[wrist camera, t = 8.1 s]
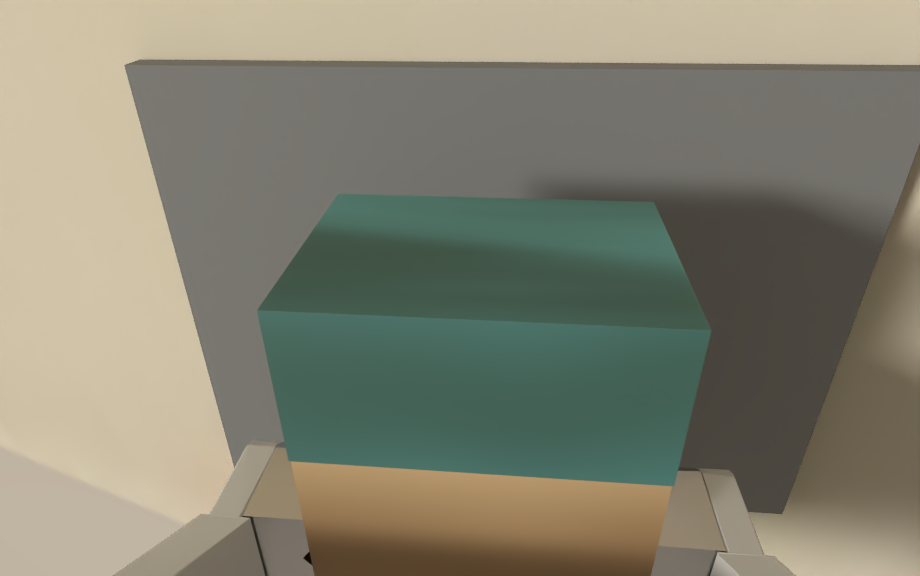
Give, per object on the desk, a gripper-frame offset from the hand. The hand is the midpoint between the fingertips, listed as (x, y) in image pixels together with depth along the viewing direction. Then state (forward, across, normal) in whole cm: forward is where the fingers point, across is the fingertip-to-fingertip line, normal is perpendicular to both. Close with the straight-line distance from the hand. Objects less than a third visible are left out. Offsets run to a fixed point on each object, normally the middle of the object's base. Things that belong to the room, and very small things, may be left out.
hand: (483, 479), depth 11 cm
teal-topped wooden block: (+2, 0, 0) cm, 2 cm away
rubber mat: (+6, 0, 0) cm, 6 cm away
